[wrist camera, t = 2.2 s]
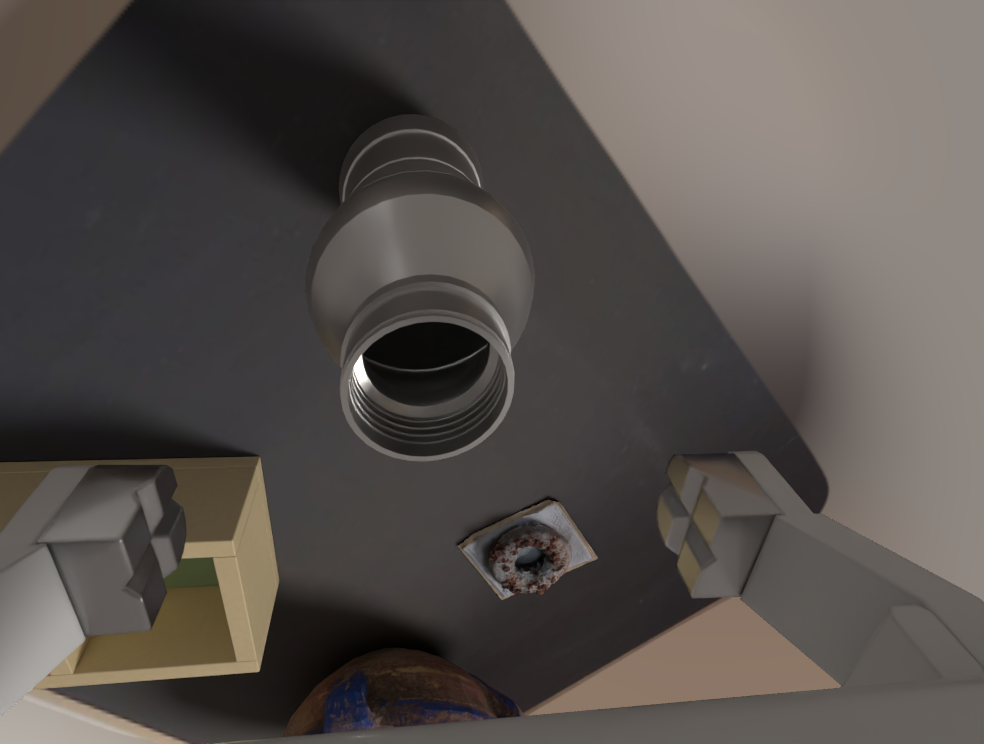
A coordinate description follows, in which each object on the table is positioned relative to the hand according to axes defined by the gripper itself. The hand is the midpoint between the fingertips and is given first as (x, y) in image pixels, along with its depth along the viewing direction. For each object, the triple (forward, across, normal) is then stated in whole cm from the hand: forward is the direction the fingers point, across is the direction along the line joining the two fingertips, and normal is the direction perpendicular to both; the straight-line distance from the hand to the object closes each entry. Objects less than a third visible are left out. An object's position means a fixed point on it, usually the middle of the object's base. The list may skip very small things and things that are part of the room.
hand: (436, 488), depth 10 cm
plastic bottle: (+23, 0, 0) cm, 23 cm away
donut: (+23, -9, +27) cm, 37 cm away
